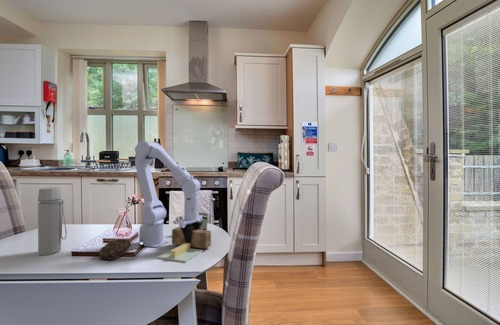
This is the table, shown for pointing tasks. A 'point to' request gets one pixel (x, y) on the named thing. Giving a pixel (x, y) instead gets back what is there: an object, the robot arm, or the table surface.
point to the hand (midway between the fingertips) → (191, 241)
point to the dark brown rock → (114, 249)
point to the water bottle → (50, 221)
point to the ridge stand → (180, 253)
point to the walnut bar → (198, 238)
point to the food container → (204, 221)
